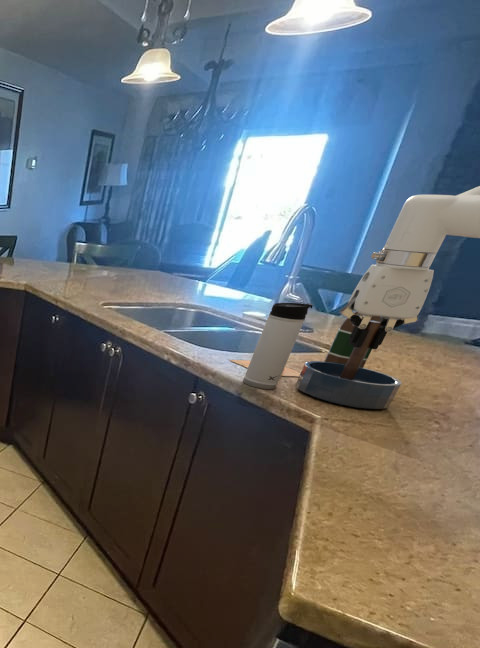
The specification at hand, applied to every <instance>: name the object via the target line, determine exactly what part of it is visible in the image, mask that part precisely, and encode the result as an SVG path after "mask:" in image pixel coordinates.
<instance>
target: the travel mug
mask: <svg viewBox="0 0 480 648" xmlns="http://www.w3.org/2000/svg"><path fill="white" fill-rule="evenodd" d="M309 309H313V303H299V302H276V303H274V304H273V305H272V307H271V310H270V312H269V313H268V316H267V319H266V320H265V324H264V326H263V328H262V331H261V334H260V336H259V339H258V341H257V344H256V346H255V349H254V352H253V354H252V355H251V356H252V357H251V359H250V360H249V361H250V364H249V366H248V368H246V371H245V375H244V377H243V380H242V383H244V384H245V385H247V386H249V387H252V388H256V389H260V390H274V389H276V388H277V386H278V383H279V382H280V379H281V377H282V376H281V374H282V372H283V370H284V367H286V365H287V363H288V360H289V358H290V355H291V354H292V352H293V351H292V350H293V348H294V346H295V344H296V341H297V340H298V337H299V335H300V332H301V330H302V327H303V325H304V323H305V320H306V317H307V315H308V311H309Z"/></svg>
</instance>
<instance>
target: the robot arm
mask: <svg viewBox="0 0 480 648" xmlns="http://www.w3.org/2000/svg"><path fill="white" fill-rule="evenodd" d="M446 236H455V237H464V238H473V239H480V185H479V186H476V187H474V188H471V189H469V190H467V191H464V192H462V193H459V194H456V195H453V194H415V195H412V196H410V197H409V198H408V199H406V201H405V202H404V204H403V206H402V208H401V209H400V212H399V214H398V216H397V218H396V221H395V222H394V224H393V227H392V229H391V231H390V233H389V235H388V237H387V239H386V242H385V244H384V245H383V248H382V249H381V250H380V251H378V252H377V251H376V252H375V251H374V252H372V254H371V256H370V259H371V260H375V264H371V265H370V266H369V267H368V268H367V270H366V271H365V272H364V274H363V276H362V277H360V278H361V279H360V280H359V281H358V283H357V285H356V286H355V288H354V290H353V292H352V293H351V296H350V297H349V300H348V302H347V303H346V305H344V306H343V307H342V308H341V309H340V310H339V313H338V314H340V315H341V316H344V317H345V318H349V319H350V321H351V322H352V325H353V326H354V329H353V331H352V333H351V335H350V337H349V344H350V345H352V346H354V347H360V346H361V344H362V342H363V340H364V338H365V336H366V334H367V332H368V330H367V329H366V327H367V325H368V323H369V321H370V319H371V317H372V316H380V317H381V320H380V322H381V325H380V327H379V329H378V331H377V333H376V335H375V337H374V339H373V341H372V343H371V345H370V347H369V348H371V349H372V350H377V349H378V348H379V347H380V346H381V345H382V344H383V342H384V340H385V338H386V335H387V334H388V333H389V332H390V333H391V332H392V331H393V330H394V329H396V328H398V327H400V326H402V325H406V324H411V323H416V322H417V321H418V316H419V314H420V312H421V310H422V309H423V306H424V304H425V301H426V299H427V296H428V294H429V291H430V289H431V285H432V282H433V278H434V272H435V271H434V269H430V268H431V265H432V263H433V262H434V259H435V257H436V256H437V253H438V252H439V250H440V248H441V246H442V244H443V242H444V240H445V238H446ZM355 311H357V312H358V314H357V315H356V314H354V313H353V312H355Z"/></svg>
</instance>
